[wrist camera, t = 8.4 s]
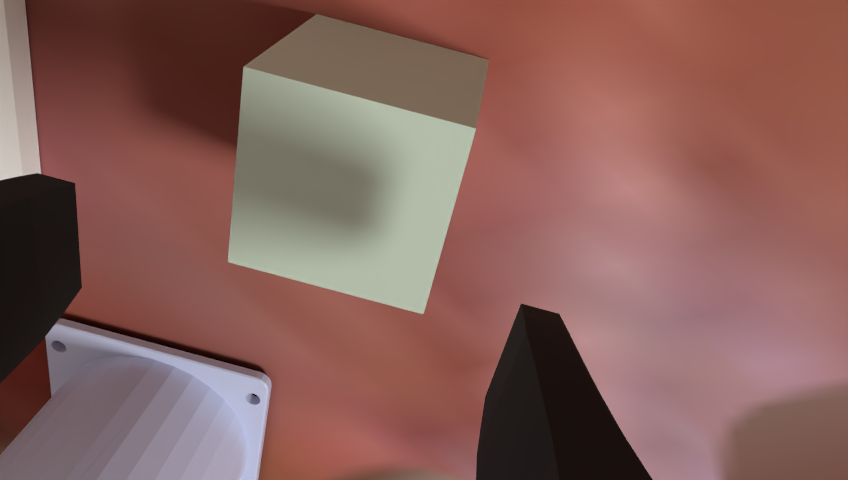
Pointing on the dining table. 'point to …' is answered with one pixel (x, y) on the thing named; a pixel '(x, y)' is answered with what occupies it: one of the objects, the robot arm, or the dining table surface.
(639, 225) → the dining table surface
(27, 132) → the white flat slab
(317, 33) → the sage block
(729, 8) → the dining table surface
